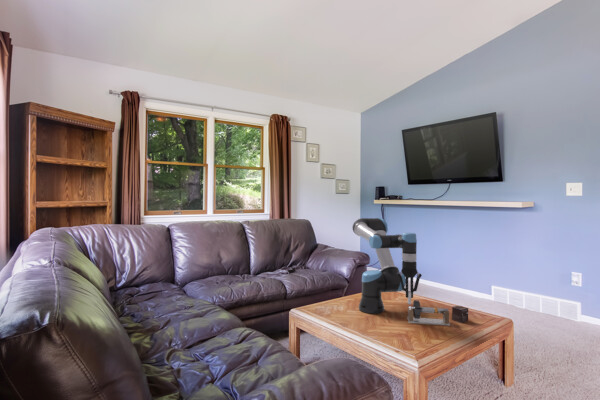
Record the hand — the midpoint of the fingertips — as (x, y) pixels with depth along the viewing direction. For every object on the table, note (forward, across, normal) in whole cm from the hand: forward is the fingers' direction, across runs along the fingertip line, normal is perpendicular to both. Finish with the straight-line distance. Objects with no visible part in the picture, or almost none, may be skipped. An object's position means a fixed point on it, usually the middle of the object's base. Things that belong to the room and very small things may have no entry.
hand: (409, 303), depth 183 cm
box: (+10, +28, +7) cm, 30 cm away
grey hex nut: (+8, +4, 0) cm, 9 cm away
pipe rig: (+10, +10, 0) cm, 14 cm away
